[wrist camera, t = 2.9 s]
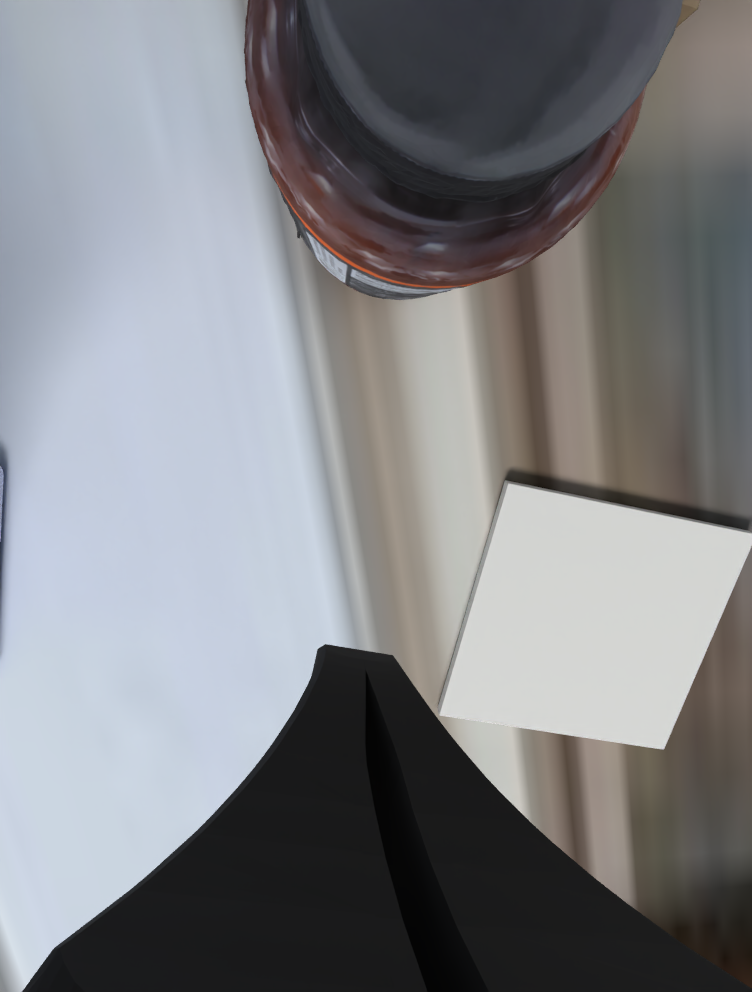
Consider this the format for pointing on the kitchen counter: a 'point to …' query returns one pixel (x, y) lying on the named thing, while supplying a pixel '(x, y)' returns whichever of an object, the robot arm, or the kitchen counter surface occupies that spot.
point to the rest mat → (590, 616)
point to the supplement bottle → (445, 126)
